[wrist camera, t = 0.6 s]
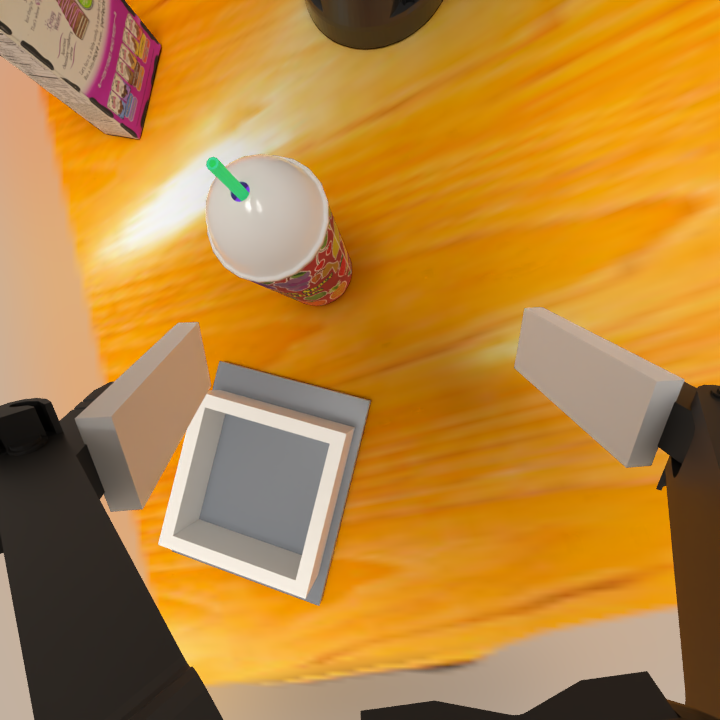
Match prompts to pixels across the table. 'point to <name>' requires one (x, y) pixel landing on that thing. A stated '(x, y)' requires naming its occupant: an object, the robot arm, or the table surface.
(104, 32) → the candy bar box
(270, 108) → the table surface
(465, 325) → the table surface
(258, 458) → the board
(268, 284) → the smoothie
